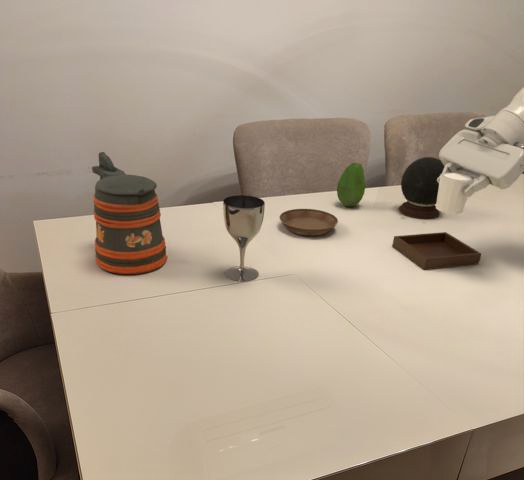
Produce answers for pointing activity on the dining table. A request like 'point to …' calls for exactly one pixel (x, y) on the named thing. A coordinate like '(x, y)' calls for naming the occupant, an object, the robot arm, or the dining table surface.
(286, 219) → the saucer
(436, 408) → the dining table surface
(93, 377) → the dining table surface
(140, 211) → the beer stein
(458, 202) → the white cup
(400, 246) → the tray
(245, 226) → the wine glass
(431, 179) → the black ball on stand
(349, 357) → the dining table surface
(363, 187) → the avocado
